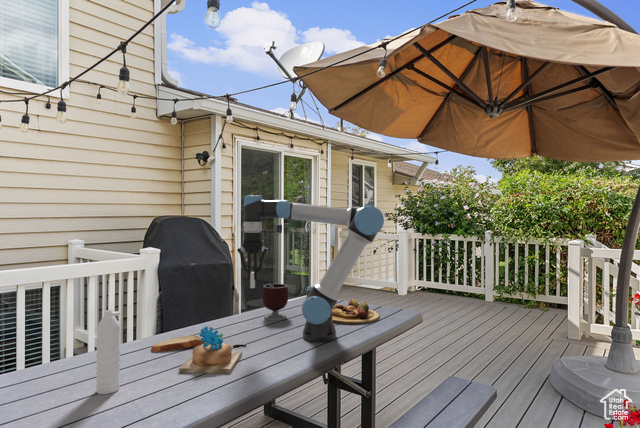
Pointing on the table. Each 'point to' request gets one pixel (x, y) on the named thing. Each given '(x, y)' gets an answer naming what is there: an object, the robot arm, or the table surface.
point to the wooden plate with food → (353, 314)
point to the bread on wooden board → (211, 360)
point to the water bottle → (108, 353)
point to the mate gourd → (275, 300)
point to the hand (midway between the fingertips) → (252, 287)
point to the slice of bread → (177, 343)
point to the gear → (211, 338)
